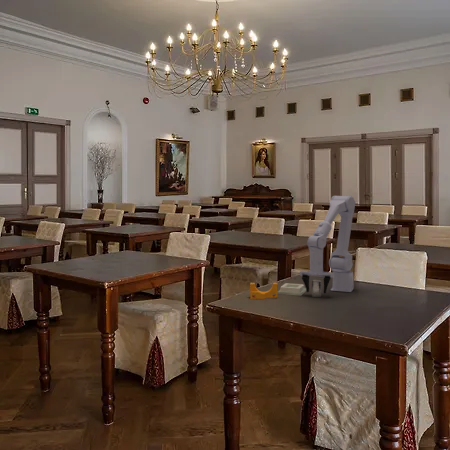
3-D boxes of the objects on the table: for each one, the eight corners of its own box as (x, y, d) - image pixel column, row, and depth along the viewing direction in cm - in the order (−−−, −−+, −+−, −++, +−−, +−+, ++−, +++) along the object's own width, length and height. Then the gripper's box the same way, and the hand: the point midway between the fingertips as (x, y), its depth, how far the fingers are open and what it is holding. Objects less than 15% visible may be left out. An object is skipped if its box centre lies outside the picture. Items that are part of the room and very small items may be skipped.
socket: (306, 290, 230) (306, 284, 230) (301, 295, 220) (301, 289, 220) (284, 288, 235) (284, 282, 234) (277, 293, 224) (277, 287, 224)
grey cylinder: (321, 295, 220) (321, 280, 220) (319, 297, 217) (320, 281, 216) (312, 294, 222) (312, 279, 221) (310, 296, 218) (310, 281, 217)
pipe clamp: (250, 299, 216) (250, 284, 215) (250, 297, 220) (250, 282, 220) (277, 299, 215) (277, 284, 215) (277, 297, 220) (277, 282, 219)
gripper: (298, 262, 217) (298, 293, 218) (331, 264, 211) (331, 295, 213) (301, 260, 223) (301, 289, 225) (334, 262, 218) (334, 292, 219)
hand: (316, 292), depth 219 cm, fingers open, 7 cm apart
